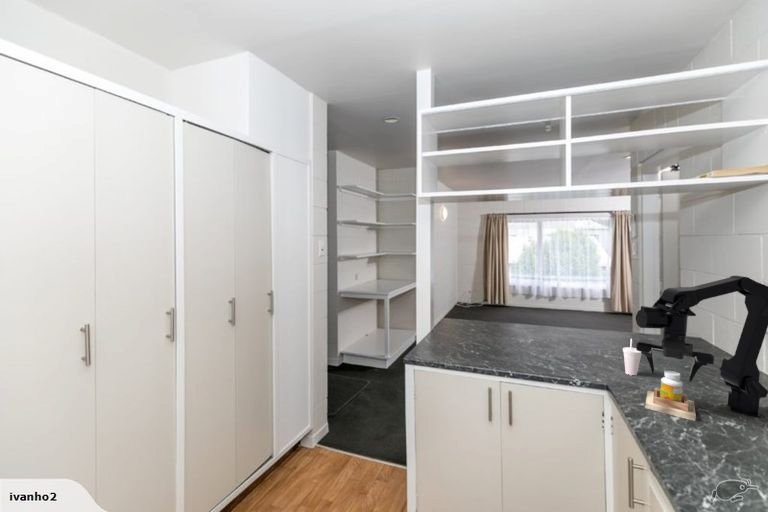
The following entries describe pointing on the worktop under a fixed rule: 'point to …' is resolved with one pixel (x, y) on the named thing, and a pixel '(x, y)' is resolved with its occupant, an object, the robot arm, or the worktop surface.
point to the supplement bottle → (671, 386)
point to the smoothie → (631, 359)
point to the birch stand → (670, 405)
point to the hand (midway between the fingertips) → (671, 377)
